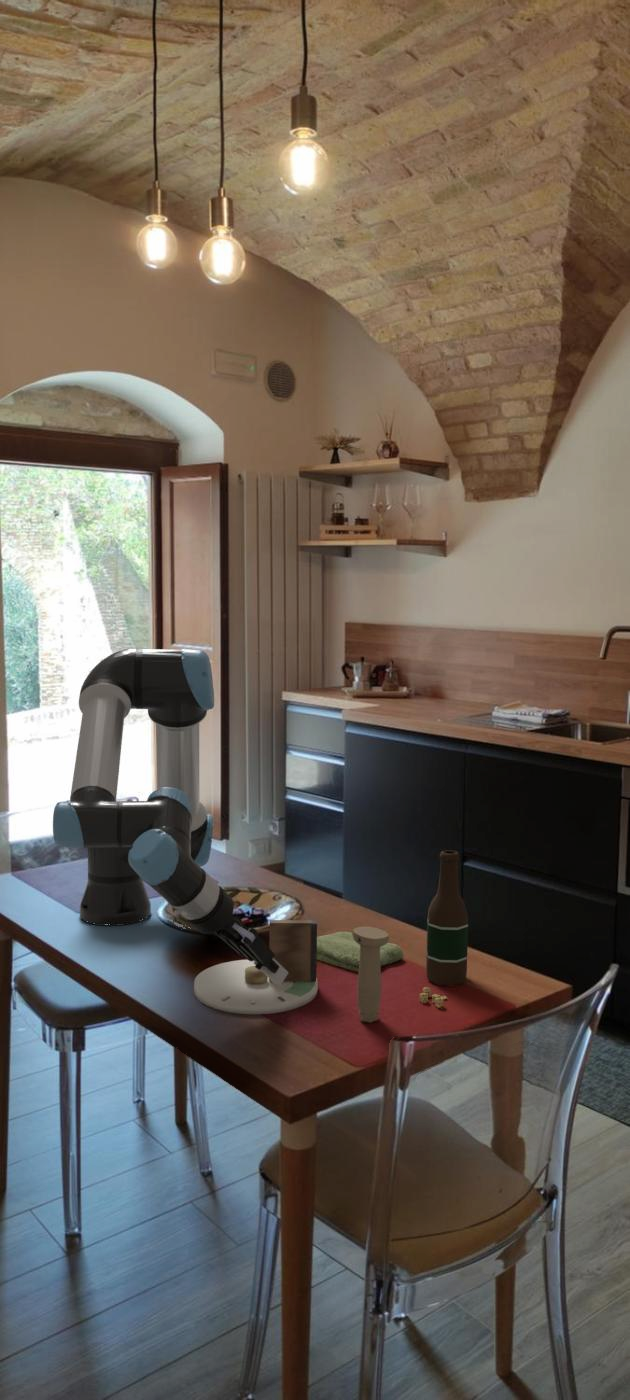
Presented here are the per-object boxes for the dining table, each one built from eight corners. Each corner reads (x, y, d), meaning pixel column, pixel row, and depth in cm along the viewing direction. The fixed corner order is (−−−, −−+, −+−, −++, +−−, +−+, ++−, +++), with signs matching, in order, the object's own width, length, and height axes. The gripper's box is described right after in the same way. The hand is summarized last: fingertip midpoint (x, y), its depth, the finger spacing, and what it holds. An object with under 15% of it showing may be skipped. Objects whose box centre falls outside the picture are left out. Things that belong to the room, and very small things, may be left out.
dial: (218, 961, 202) (219, 953, 202) (330, 974, 196) (330, 965, 196) (175, 1005, 181) (175, 996, 180) (298, 1021, 175) (298, 1011, 175)
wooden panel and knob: (244, 983, 186) (245, 925, 185) (245, 975, 190) (245, 917, 189) (316, 983, 187) (317, 925, 185) (315, 975, 191) (316, 918, 189)
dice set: (441, 1012, 181) (441, 1001, 181) (413, 1006, 183) (414, 996, 183) (451, 1002, 185) (451, 992, 185) (424, 996, 188) (424, 986, 188)
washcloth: (338, 939, 217) (338, 924, 216) (407, 961, 205) (407, 945, 204) (294, 955, 207) (295, 939, 207) (363, 979, 195) (364, 962, 195)
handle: (367, 1009, 180) (369, 924, 178) (392, 1022, 175) (394, 935, 173) (345, 1016, 177) (346, 930, 176) (370, 1029, 172) (372, 940, 170)
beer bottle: (417, 973, 197) (421, 848, 194) (454, 969, 200) (458, 845, 197) (436, 989, 190) (440, 858, 187) (474, 983, 193) (479, 855, 190)
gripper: (166, 911, 174) (245, 984, 186) (212, 931, 164) (293, 1008, 176) (192, 874, 177) (269, 949, 189) (240, 892, 167) (318, 970, 179)
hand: (281, 977), depth 183 cm, fingers closed
